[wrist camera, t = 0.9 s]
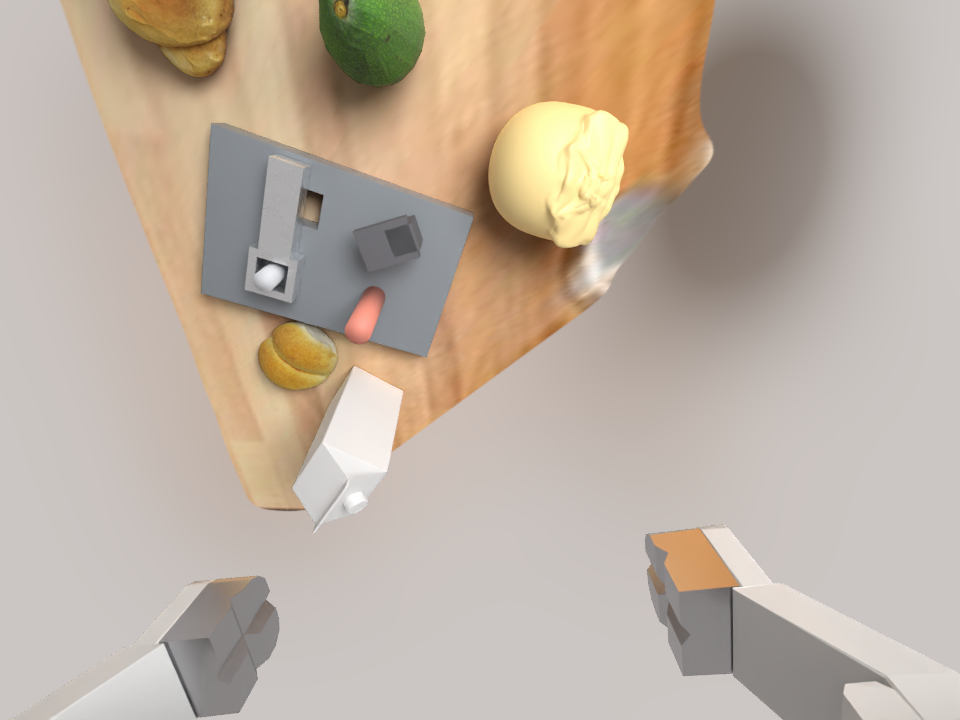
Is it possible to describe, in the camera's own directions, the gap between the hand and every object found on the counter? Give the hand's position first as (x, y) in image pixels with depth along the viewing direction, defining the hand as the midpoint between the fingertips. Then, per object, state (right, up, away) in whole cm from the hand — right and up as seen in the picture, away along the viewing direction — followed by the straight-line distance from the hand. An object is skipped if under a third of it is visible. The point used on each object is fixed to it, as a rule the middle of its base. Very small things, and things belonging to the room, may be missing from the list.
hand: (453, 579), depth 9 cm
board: (-15, +17, +39) cm, 45 cm away
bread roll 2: (-21, +6, +45) cm, 50 cm away
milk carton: (-14, 0, +48) cm, 51 cm away
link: (-19, +18, +35) cm, 44 cm away
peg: (-11, +12, +39) cm, 42 cm away
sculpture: (+7, +24, +36) cm, 44 cm away
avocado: (-8, +33, +30) cm, 46 cm away
